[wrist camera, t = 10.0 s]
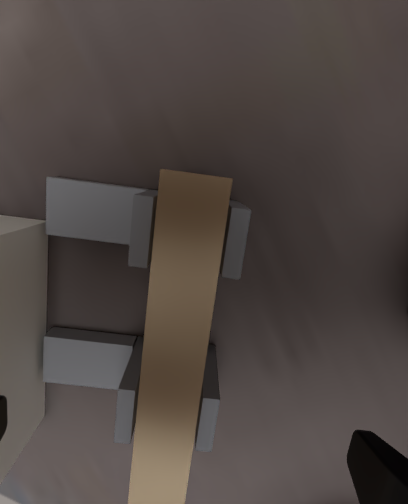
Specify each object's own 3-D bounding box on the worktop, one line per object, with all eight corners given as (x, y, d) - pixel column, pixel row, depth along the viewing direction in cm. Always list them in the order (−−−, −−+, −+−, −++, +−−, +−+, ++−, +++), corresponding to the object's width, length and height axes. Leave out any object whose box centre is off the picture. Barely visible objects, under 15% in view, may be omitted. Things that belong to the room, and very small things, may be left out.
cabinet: (237, 200, 18) (251, 209, 13) (201, 431, 21) (202, 507, 16) (-45, 163, 17) (-142, 157, 12) (-34, 408, 21) (-105, 479, 16)
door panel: (185, 407, 20) (176, 557, 12) (153, 403, 20) (123, 553, 12) (217, 177, 16) (232, 178, 9) (178, 172, 16) (160, 168, 9)
